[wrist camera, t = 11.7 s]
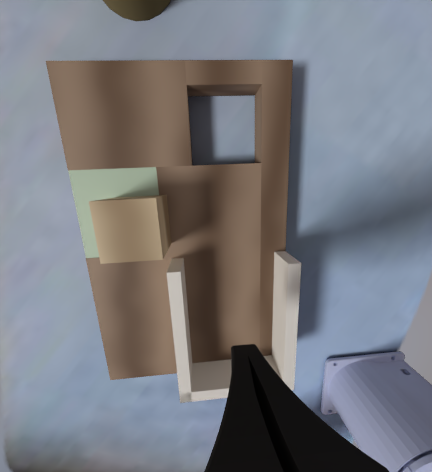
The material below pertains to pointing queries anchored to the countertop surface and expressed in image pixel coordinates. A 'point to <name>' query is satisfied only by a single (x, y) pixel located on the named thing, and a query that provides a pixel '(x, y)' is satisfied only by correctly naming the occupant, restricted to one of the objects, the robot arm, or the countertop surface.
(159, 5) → the cork
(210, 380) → the cubby
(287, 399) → the robot arm
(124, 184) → the pad
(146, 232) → the block
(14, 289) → the countertop surface
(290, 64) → the board
